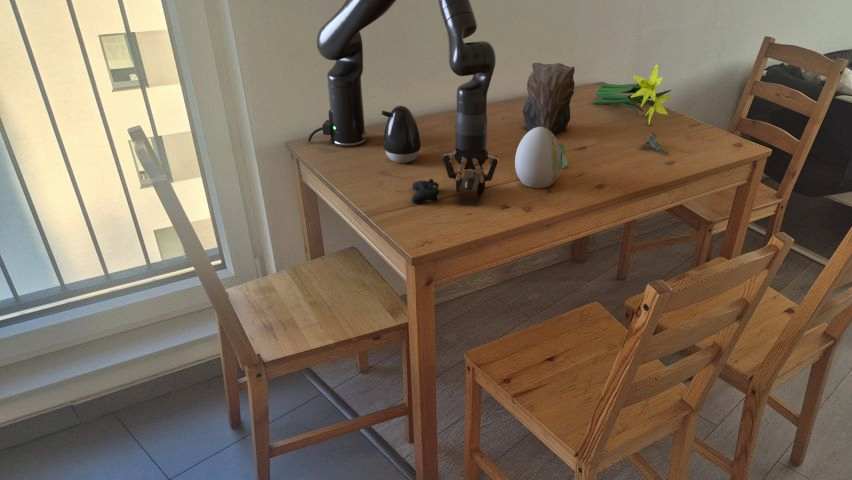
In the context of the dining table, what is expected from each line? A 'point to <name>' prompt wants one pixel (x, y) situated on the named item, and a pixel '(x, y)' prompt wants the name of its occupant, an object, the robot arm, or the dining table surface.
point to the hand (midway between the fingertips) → (470, 193)
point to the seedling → (564, 160)
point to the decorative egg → (538, 158)
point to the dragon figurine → (652, 143)
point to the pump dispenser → (401, 135)
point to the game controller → (425, 191)
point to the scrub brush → (469, 188)
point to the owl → (549, 97)
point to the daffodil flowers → (635, 94)
